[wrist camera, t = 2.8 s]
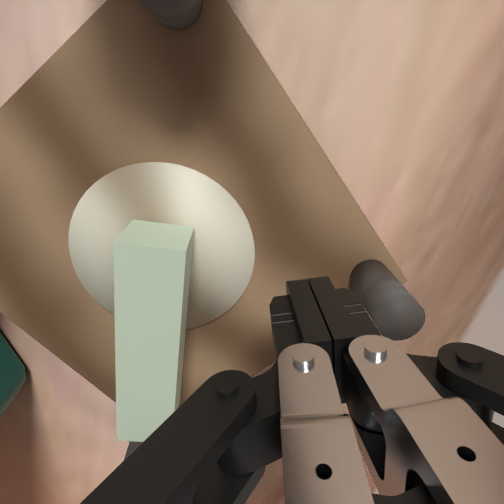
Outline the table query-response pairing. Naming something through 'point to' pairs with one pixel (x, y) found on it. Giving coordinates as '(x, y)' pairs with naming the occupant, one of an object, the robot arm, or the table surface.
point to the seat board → (174, 191)
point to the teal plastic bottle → (9, 375)
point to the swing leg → (149, 323)
